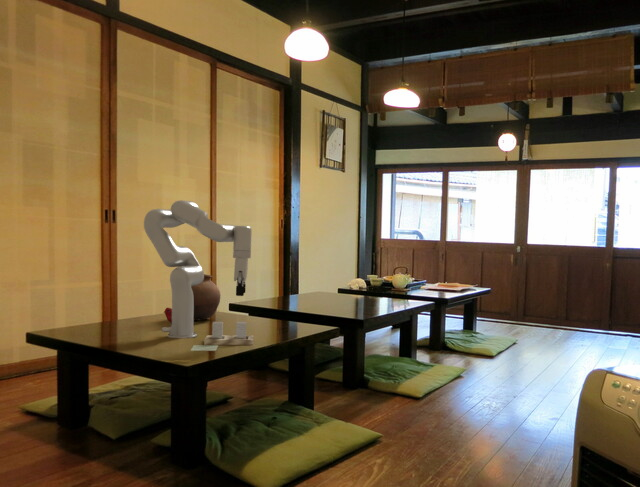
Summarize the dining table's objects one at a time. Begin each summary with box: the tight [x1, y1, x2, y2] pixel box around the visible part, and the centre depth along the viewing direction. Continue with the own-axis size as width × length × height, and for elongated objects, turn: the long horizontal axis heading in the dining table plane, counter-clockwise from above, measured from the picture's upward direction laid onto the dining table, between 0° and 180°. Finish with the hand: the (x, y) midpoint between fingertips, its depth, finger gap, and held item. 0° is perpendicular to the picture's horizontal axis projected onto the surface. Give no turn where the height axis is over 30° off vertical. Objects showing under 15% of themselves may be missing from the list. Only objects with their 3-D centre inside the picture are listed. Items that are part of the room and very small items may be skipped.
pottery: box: [191, 273, 221, 321], centre depth 289 cm, size 23×23×25 cm
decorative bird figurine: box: [163, 307, 172, 324], centre depth 269 cm, size 3×18×10 cm, turn 139°
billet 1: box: [211, 321, 224, 339], centre depth 230 cm, size 4×4×9 cm
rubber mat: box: [190, 344, 219, 352], centre depth 219 cm, size 10×10×1 cm
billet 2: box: [235, 321, 247, 339], centre depth 231 cm, size 4×4×9 cm
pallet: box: [203, 334, 254, 346], centre depth 231 cm, size 20×10×2 cm, turn 95°
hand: (240, 294), depth 233 cm, fingers open, 9 cm apart
